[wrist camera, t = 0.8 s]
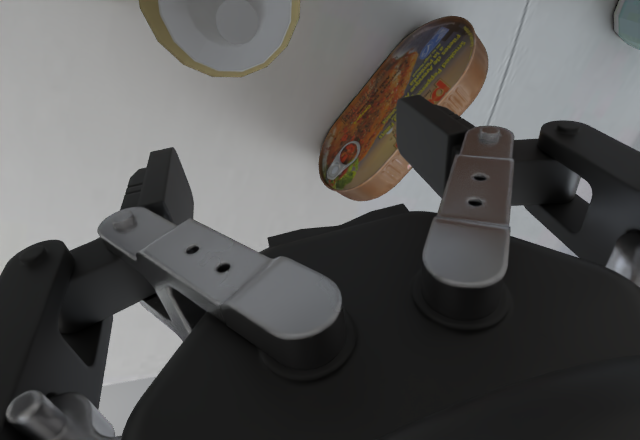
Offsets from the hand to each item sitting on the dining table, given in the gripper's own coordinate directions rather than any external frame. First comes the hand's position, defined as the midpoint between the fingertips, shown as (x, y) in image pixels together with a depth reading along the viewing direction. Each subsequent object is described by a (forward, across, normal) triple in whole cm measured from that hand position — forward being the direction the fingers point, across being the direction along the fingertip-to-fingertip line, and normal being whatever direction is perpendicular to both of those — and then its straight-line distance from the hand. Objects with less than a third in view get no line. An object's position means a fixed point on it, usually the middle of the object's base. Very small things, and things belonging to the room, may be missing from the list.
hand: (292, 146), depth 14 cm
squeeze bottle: (+18, +1, -5) cm, 18 cm away
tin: (+18, -10, +6) cm, 21 cm away
